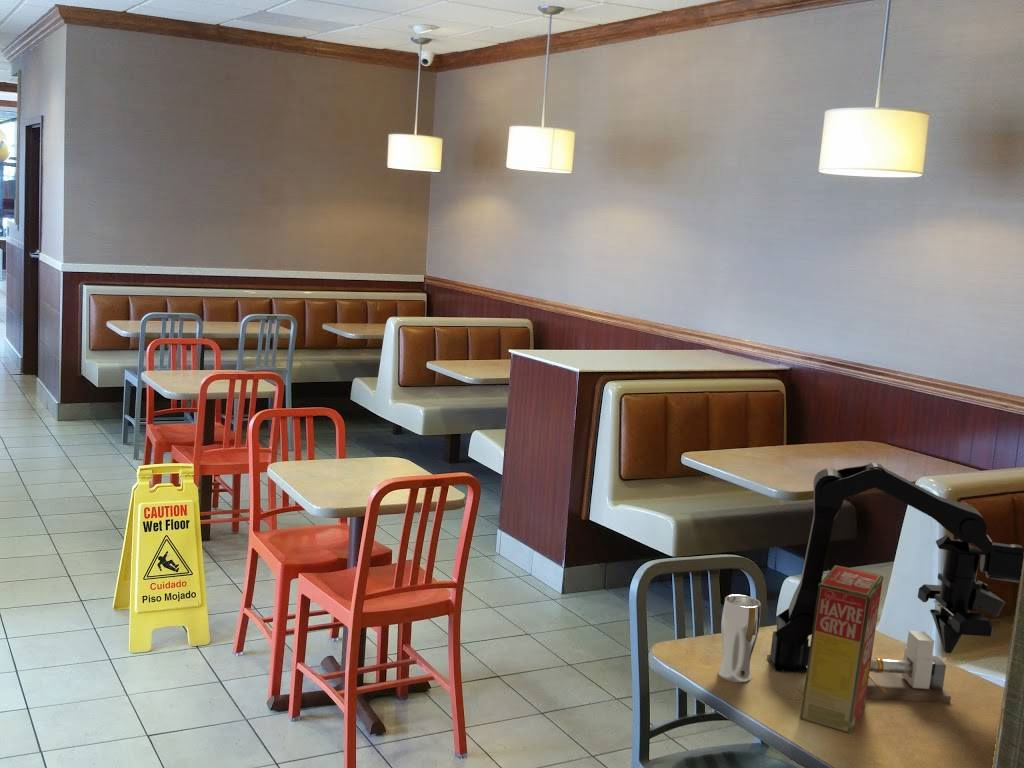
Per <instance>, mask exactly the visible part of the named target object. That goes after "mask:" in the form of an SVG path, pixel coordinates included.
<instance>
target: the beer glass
mask: <svg viewBox="0 0 1024 768" xmlns="http://www.w3.org/2000/svg"><path fill="white" fill-rule="evenodd" d="M760 621H761V602H760V600H758V599H757V598H755V597H752V596H750V595H749V596H748V595H745V594H729V595H727V596H725V597H724V605H723V609H722V615H721V623H720V624H721V625H720V626H721V627H720V628H721V633H720V634H721V647H722V655H721V656H722V657H721V660H720V661H721V662H720V665H719V668H718V673H717V674H718V675H719V677H720V676H721V677H720V678H722V679H723V680H725V681H728V682H732V683H737V682H740V684H741V682H743V683H747V682H749V681H751V678H752V673H751V659H752V655H753V652H754V648H755V644H756V642H757V639H758V634H759V629H760Z"/></svg>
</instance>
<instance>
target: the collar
mask: <svg viewBox="0 0 1024 768" xmlns="http://www.w3.org/2000/svg"><path fill="white" fill-rule="evenodd" d="M934 645H935V640H934V639H933V638H932V637H931V636H930V635H929V634H928V633H926V632H925V631H924V630H923V631H921V630H920V631H919V630H908V635H907V642H906V647H904V652H903V660H904V661H912V662H913V663H914V665H913V672H912V674H902V673H901V675H902V676H903V677H904V678H905V679H906V680H907V682H908V683H909V684H910V685H911V686H912V687H913V688H924V689H929V686H930V679H931V672H932V665H933V660H932V656H933V653H934Z"/></svg>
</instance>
